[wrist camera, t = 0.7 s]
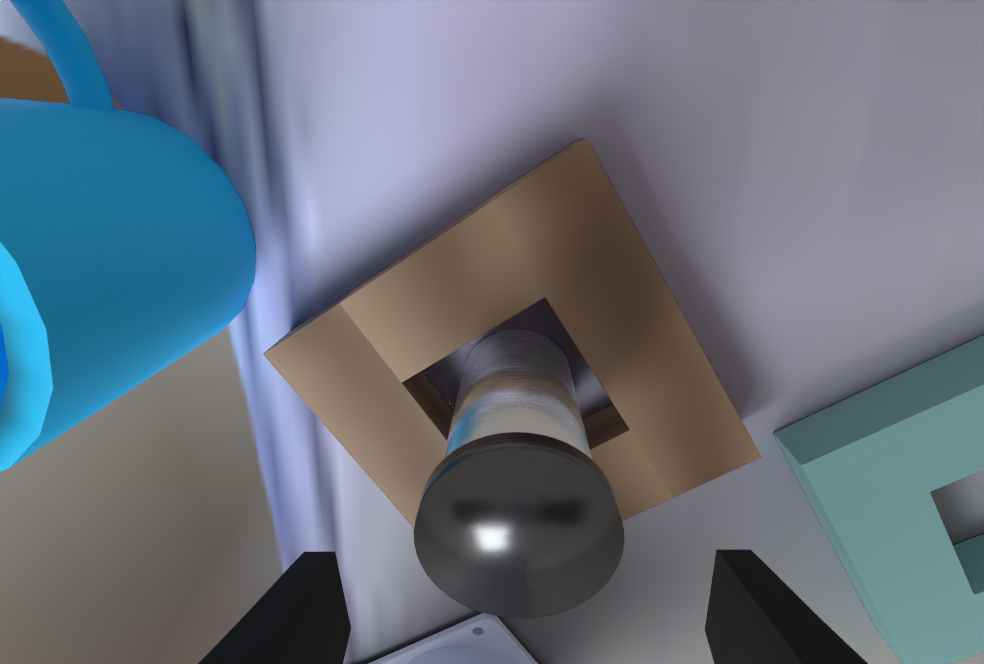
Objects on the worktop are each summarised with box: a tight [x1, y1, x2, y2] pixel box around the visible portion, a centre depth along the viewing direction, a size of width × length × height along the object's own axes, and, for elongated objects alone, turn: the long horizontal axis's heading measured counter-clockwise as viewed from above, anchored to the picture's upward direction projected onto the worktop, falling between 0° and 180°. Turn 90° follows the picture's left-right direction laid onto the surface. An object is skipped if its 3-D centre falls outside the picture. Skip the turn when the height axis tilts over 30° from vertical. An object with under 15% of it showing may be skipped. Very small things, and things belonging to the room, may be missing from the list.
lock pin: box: [414, 329, 624, 618], centre depth 15 cm, size 5×5×8 cm
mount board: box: [263, 138, 761, 528], centre depth 17 cm, size 12×12×2 cm
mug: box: [0, 0, 256, 472], centre depth 13 cm, size 12×8×8 cm
